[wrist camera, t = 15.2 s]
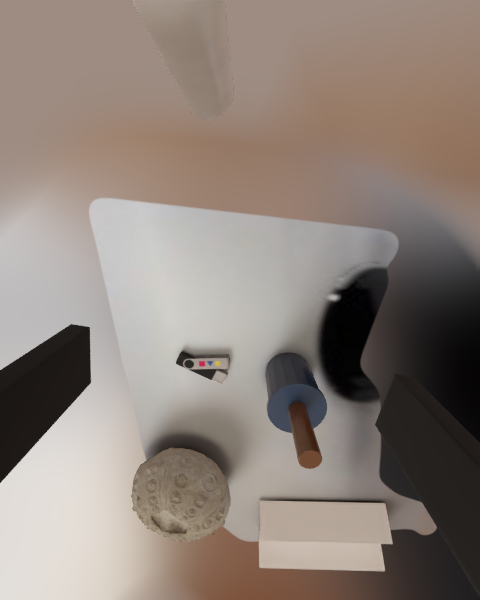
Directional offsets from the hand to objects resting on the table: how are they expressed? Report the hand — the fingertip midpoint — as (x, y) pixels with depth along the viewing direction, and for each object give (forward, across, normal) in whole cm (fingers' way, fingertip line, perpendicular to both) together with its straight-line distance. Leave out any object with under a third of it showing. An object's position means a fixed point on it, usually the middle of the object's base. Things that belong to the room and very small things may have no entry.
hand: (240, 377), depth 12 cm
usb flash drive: (+30, -4, -18) cm, 35 cm away
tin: (+30, +10, -18) cm, 36 cm away
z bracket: (+29, +25, -54) cm, 66 cm away
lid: (+21, +10, -18) cm, 30 cm away
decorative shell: (+29, -4, -42) cm, 51 cm away
